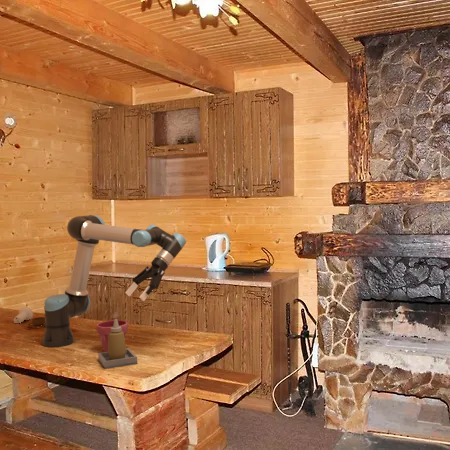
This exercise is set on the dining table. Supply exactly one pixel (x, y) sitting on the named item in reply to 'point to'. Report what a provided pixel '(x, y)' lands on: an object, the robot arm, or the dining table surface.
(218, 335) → the dining table surface
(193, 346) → the dining table surface
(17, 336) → the dining table surface
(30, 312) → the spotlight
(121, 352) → the squeeze bottle
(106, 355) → the tray
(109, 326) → the plant pot
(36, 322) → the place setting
